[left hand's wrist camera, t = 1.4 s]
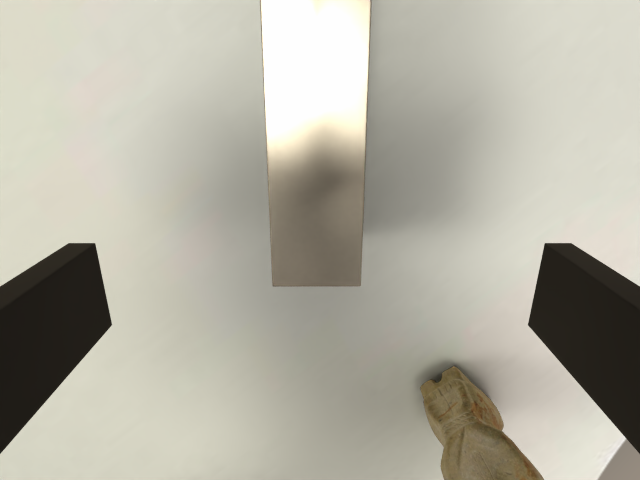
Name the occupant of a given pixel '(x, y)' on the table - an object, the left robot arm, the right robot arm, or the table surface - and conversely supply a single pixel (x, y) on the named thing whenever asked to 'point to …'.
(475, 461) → the sculpture
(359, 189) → the bar
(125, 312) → the table surface
